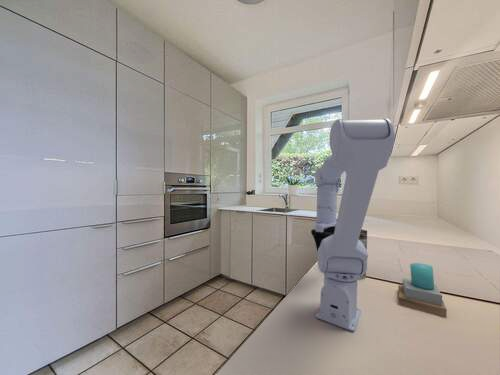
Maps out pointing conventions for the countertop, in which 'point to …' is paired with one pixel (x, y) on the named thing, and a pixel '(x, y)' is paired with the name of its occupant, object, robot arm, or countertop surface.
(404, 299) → the tower base
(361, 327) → the countertop surface
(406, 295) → the tower top
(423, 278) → the cylinder
